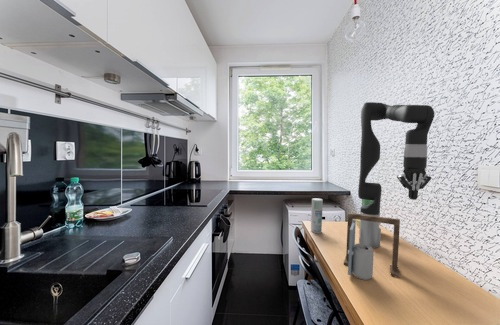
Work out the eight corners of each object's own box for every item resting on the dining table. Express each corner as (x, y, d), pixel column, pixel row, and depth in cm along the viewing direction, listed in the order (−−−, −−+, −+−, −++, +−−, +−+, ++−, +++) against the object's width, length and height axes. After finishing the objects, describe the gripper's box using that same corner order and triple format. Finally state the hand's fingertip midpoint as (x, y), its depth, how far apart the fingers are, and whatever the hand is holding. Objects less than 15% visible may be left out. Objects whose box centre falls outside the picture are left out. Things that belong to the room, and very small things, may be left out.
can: (374, 282, 88) (376, 251, 88) (353, 279, 90) (354, 248, 90) (369, 272, 95) (371, 243, 95) (350, 269, 97) (351, 241, 97)
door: (350, 259, 104) (352, 220, 103) (355, 261, 103) (356, 220, 102) (346, 274, 91) (348, 229, 91) (352, 275, 90) (354, 230, 90)
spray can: (313, 233, 140) (314, 200, 139) (308, 229, 147) (309, 198, 146) (323, 232, 142) (324, 200, 141) (318, 229, 148) (319, 198, 147)
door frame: (343, 264, 102) (345, 214, 101) (345, 257, 109) (347, 210, 108) (399, 277, 92) (402, 222, 91) (397, 268, 99) (400, 217, 98)
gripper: (423, 156, 96) (421, 197, 97) (392, 155, 96) (390, 197, 97) (439, 156, 89) (436, 201, 90) (405, 156, 88) (403, 201, 89)
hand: (412, 199), depth 93 cm, fingers closed
